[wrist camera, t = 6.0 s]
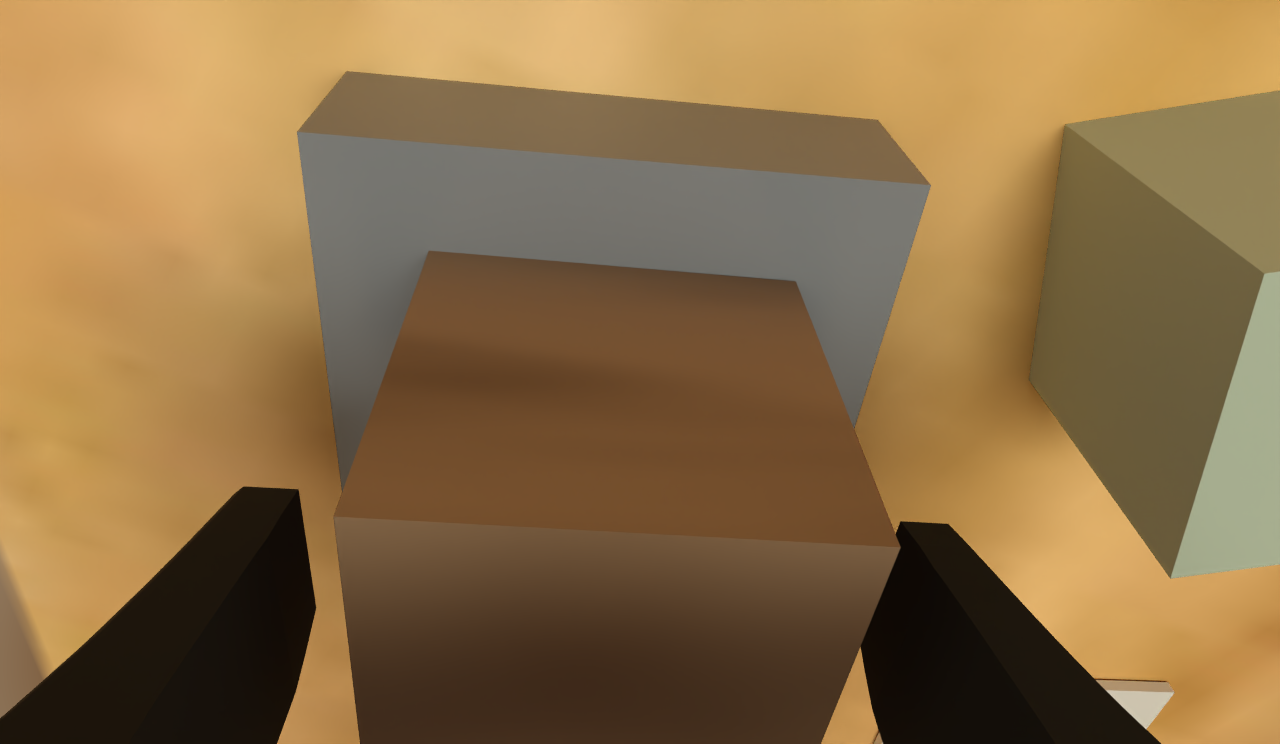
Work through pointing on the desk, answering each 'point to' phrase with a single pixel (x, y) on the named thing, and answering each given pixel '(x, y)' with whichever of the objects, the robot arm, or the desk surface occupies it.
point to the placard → (1132, 698)
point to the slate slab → (593, 207)
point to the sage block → (1172, 324)
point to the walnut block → (606, 514)
